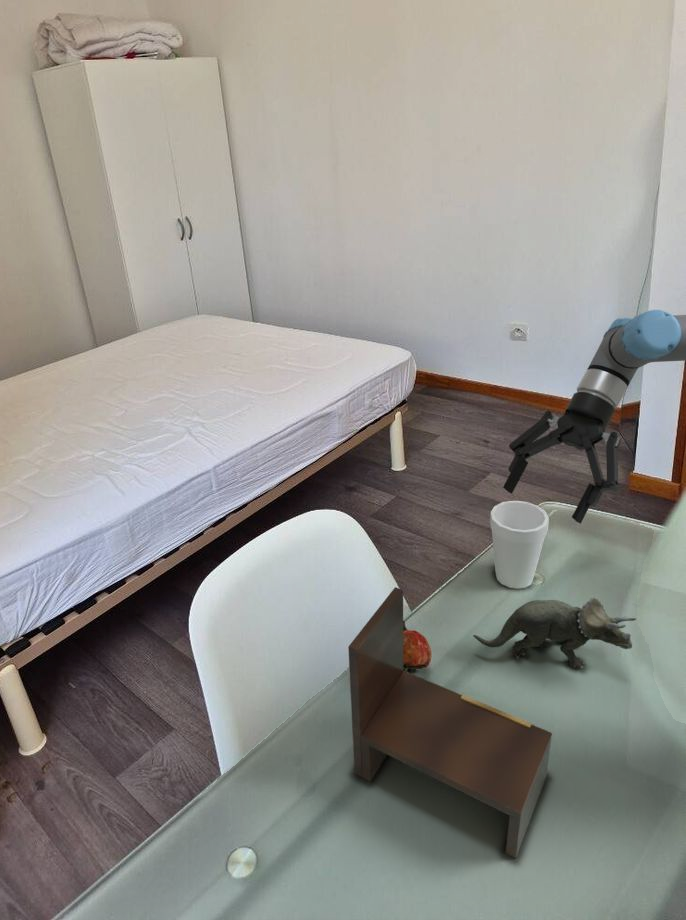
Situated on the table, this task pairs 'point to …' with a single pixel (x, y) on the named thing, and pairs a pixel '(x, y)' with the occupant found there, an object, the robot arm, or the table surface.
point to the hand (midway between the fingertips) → (540, 505)
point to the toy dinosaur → (561, 627)
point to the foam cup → (517, 541)
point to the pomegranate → (415, 650)
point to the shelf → (440, 728)
